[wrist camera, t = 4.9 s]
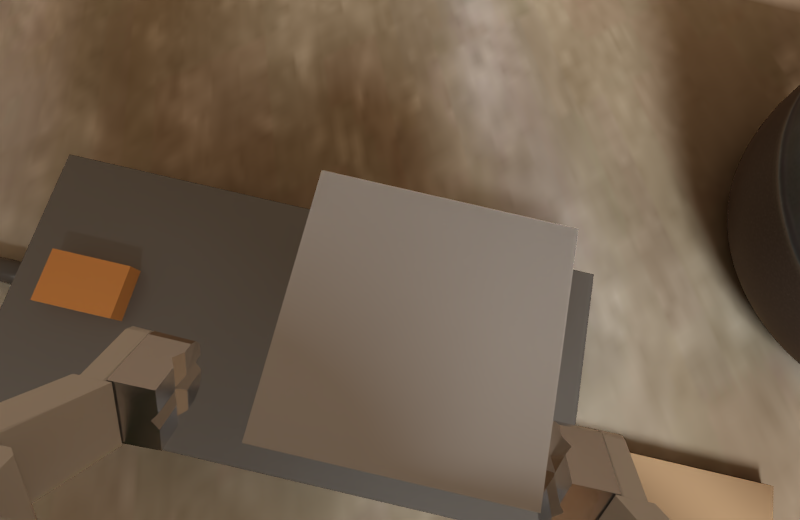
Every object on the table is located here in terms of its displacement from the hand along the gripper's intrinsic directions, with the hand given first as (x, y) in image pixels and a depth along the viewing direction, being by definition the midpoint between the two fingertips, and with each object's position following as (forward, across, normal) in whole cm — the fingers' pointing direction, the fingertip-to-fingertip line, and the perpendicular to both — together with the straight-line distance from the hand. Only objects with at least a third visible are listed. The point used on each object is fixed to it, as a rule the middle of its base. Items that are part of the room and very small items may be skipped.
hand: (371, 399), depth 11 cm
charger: (+6, -1, +4) cm, 7 cm away
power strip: (+8, +6, +6) cm, 12 cm away
